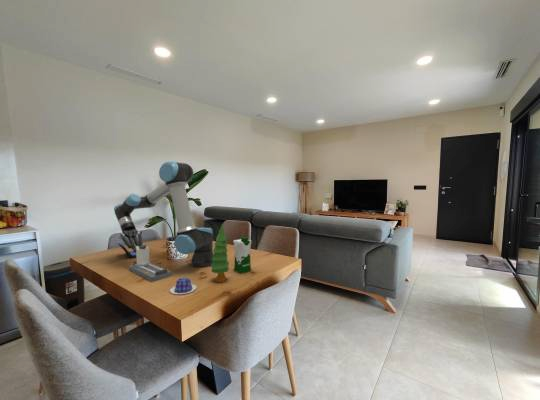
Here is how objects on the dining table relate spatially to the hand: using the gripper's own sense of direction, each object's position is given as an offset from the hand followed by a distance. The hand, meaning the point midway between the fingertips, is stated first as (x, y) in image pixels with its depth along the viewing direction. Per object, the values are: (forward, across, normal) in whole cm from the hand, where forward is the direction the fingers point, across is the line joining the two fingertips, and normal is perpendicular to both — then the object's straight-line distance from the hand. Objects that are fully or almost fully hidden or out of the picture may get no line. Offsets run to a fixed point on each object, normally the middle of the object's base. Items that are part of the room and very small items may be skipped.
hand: (139, 256), depth 146 cm
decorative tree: (+41, -19, +30) cm, 54 cm away
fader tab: (+6, -1, -2) cm, 6 cm away
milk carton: (+40, -37, +29) cm, 62 cm away
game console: (-18, -9, -30) cm, 36 cm away
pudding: (+38, 0, +26) cm, 47 cm away
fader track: (+13, -1, +2) cm, 13 cm away
